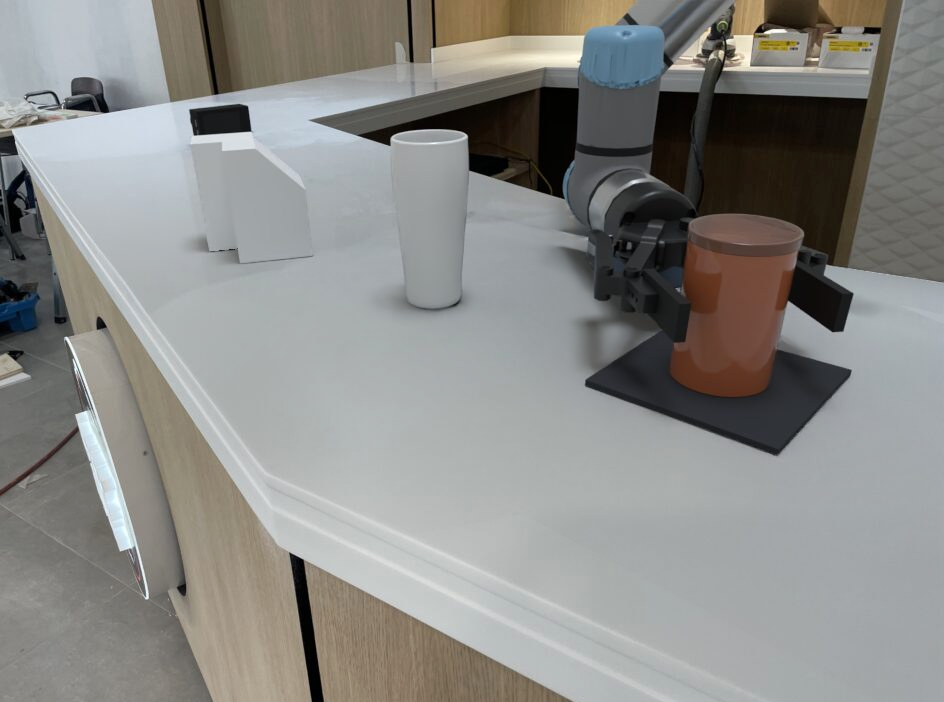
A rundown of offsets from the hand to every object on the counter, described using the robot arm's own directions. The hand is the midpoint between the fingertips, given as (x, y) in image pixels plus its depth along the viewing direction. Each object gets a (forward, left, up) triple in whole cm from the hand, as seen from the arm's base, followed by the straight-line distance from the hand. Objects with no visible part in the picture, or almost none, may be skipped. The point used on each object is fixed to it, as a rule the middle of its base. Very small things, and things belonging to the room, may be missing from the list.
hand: (763, 318), depth 47 cm
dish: (+19, -22, -7) cm, 30 cm away
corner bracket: (+57, 0, -7) cm, 58 cm away
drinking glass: (+30, -1, -7) cm, 31 cm away
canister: (+3, -3, -6) cm, 8 cm away
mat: (+3, -3, -7) cm, 8 cm away
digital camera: (+118, -34, -7) cm, 123 cm away
